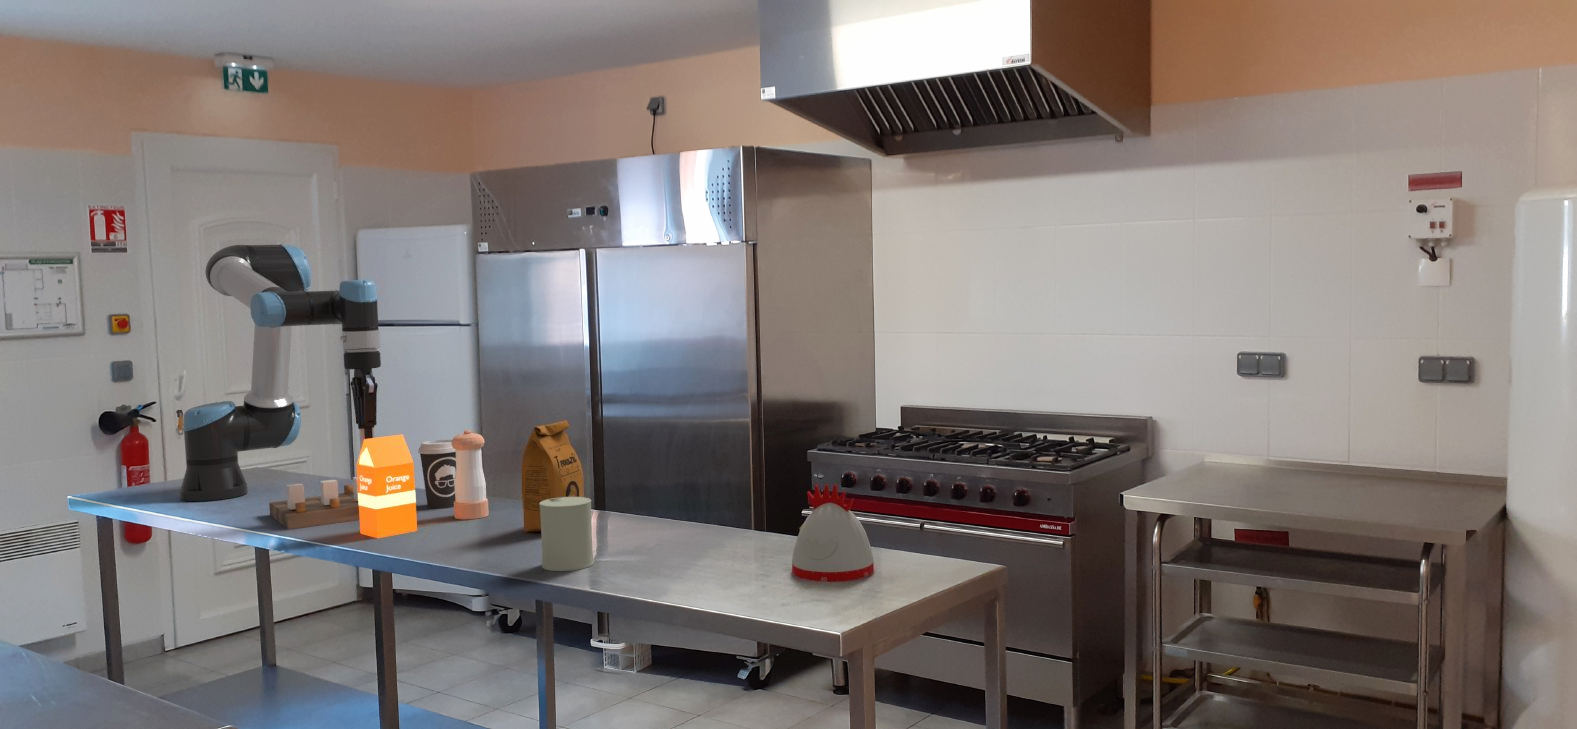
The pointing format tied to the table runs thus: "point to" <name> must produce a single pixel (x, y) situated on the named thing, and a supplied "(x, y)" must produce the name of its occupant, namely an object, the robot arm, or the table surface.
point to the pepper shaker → (469, 477)
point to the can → (566, 533)
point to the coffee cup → (439, 472)
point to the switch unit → (317, 511)
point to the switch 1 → (295, 495)
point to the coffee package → (548, 471)
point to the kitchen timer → (832, 541)
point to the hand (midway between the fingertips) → (368, 457)
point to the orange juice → (386, 487)
